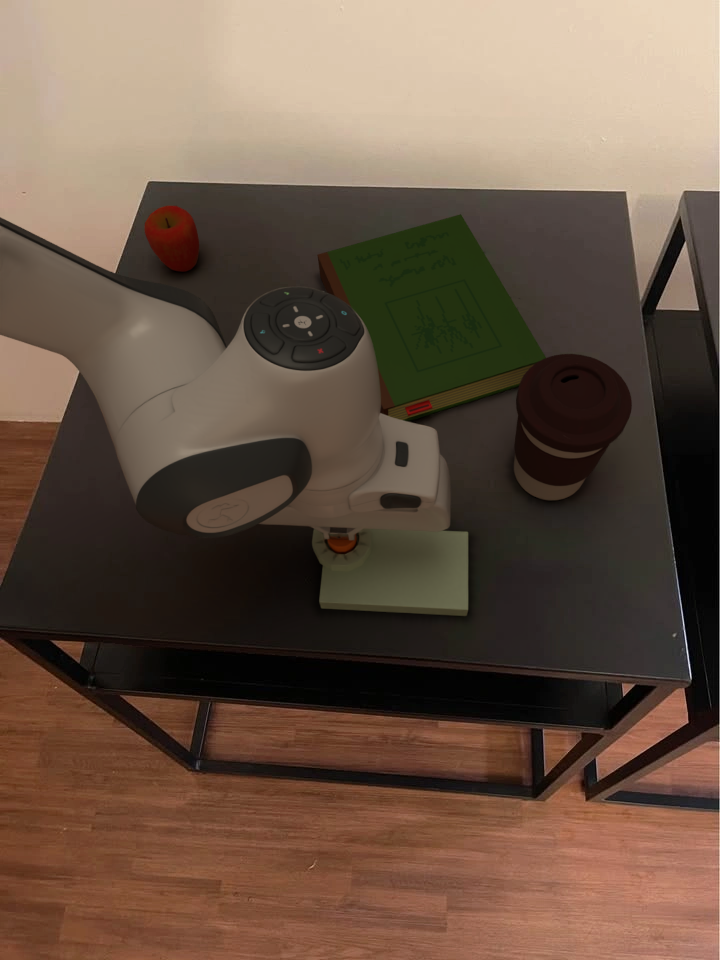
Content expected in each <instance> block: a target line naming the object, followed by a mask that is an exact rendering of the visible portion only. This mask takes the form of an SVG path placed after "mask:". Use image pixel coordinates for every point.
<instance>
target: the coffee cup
mask: <svg viewBox="0 0 720 960" xmlns="http://www.w3.org/2000/svg"><path fill="white" fill-rule="evenodd" d="M517 388H518V389H517V393H516V398H515V408H516V413H517V420H516V426H515V427H516V428H515V435H514V436H515V437H514V445H513V449H514V461H513V473H514V476H515V478H516V481H517V482H518V484H519V485H520V487H521V488H522V489H523V490H524V491H525V492H527V493H528V494H530V495H531V496H533V497H536V498H537V499H540V500H544V501H559V500H564V499H566V498H568V497H571V496H572V495H574V494H575V493H577V491H578V490H580V488H581V487H582V485H583V484H584V482H585V480H586V479H587V478H588V477H589V476H590V475H591V474H592V473H593V471H594V470H595V468H596V467H597V465H598V463H599V462H600V460H601V459H602V458H603V456H604V454H605V453H606V451H607V449H608V448H609V447H610V445H611V443H613V442H614V441H616V440H617V439H618V438H619V437H620V435H621V434H622V433H623V431H624V430H625V428H626V426H627V424H628V421H629V419H630V417H631V415H632V414H631V413H632V408H633V401H632V395H631V392H630V389H629V387H628V384H627V383H626V381H625V380H624V378H623V377H622V376H621V375H620V374H619V373H618V371H616V370H615V369H614V368H612V366H610V365H608V364H607V363H605V362H603V361H602V360H599V359H597V358H595V357H592V356H588V355H583V354H576V353H560V354H554V355H550V356H548V357H546V358H545V359H543V360H541V361H539V362H537V363H536V364H534V365H533V366H532V367H531V368H530V369H528V371H527V372H526V373H525V374H524V376H523V377H522V379H521V382H520V384H519V387H517Z"/></svg>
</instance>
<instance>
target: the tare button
mask: <svg viewBox="0 0 720 960" xmlns="http://www.w3.org/2000/svg"><path fill="white" fill-rule="evenodd" d="M327 540H328V544H329V547H330V548H331V550H332V551H334V552H336V553H338V554H345V553H348V552H350V551H352V550H353V549H354V547H355V546H356V543H357V537H356V534H355V540H335V539H327Z"/></svg>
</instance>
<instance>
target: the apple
mask: <svg viewBox="0 0 720 960" xmlns="http://www.w3.org/2000/svg"><path fill="white" fill-rule="evenodd" d="M143 228H144V229H143V231H144V235H145V237H146V240H147V243H148V244H149V246H150V248H151V250H152V252H153V253H154V254H155V256H157V258H158V259H159V260H160V262H161V263H163V265H165V266H166V267H167V268H169V269H170V270H172V271H176V272H183V273H184V272H185V273H186V272H188V271H191V270H192V269H193V268H194V267H195V266H196V265H197V262H198V258H199V255H200V254H199V253H200V238H199V233H198V229H197V225H196V223H195V220H194V217H193V216H192V215H191V213H190V212H188V210H186V209H184V208H182V207H180V206H178V205H164V206H161V207H158V208H157V209H155V210H154V211H153V212H151V213H150V214H149V216H148V217H147V219H146V220H145V222H144V227H143Z"/></svg>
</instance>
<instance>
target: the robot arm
mask: <svg viewBox="0 0 720 960" xmlns="http://www.w3.org/2000/svg"><path fill="white" fill-rule="evenodd" d="M0 336H2V337H5V338H9V339H12V340H14V341H18V342H20V343H24V344H27V345H30V346H33V347H35V348H39V349H42V350H46V351H48V352H52V353H54V354H58V355H60V356H63V357H64V358H65V359H67V360H68V361H69V362H70V363H71V364H72V365H73V366H74V367H75V368H76V369H77V371H78V372H79V373H80V375H81V376H82V377H83V379H84V380H85V381H86V383H87V385H88V387H89V389H90V391H91V392H92V394H93V395H94V398H95V400H96V403H97V405H98V407H99V409H100V412H101V415H102V418H103V420H104V423H105V425H106V428H107V431H108V434H109V436H110V439H111V441H112V442H111V443H112V445H113V448H114V452H115V454H116V458H117V461H118V463H119V466H120V469H121V472H122V474H123V477H124V479H125V481H126V484H127V486H128V490H129V493H130V495H131V498H132V499H133V502H134V504H135V507H136V511H137V513H138V515H139V516H140V517H141V518H142V520H144V521H145V522H146V523H148V524H150V525H152V526H154V527H156V528H157V529H160V530H162V531H166V532H167V533H171V534H175V535H180V536H187V537H195V538H205V539H206V538H210V539H214V538H222V537H228V536H230V535H235V534H237V533H239V532H243V531H245V530H248V529H250V528H253V527H254V526H257V525H270V526H271V525H272V526H273V525H274V526H293V527H294V526H297V527H309V528H312V529H313V530H314V529H316V530H317V531H319V532H321V533H323V535H324V539H335V540H355V534H356V533H357V532H359V531H361V530H362V529H386V530H408V531H430V532H439V531H446V530H448V529H449V528H450V526H451V516H452V515H451V513H452V512H451V511H452V510H451V509H452V490H451V489H452V487H451V484H452V483H451V475H450V470H449V465H448V462H447V460H446V459H445V457H444V456H443V455H442V453H441V451H440V450H441V449H440V440H439V434H438V430H437V429H436V428H433V427H432V426H428V425H424V424H421V423H415V422H412V421H403V420H400V419H396V418H393V417H390V416H387V415H384V414H382V413H380V409H381V393H380V382H379V373H378V367H377V361H376V356H375V351H374V347H373V343H372V340H371V337H370V334H369V332H368V330H367V327H366V326H365V324H364V322H363V321H362V319H361V318H360V317H359V315H358V314H357V313H356V312H355V311H354V310H353V309H352V308H351V307H350V306H349V305H348V304H347V303H345V302H344V301H343V300H341V299H339V298H338V297H336V296H334V295H332V294H329V293H327V291H325V290H322V289H318V288H314V287H308V286H285V287H279V288H276V289H272V290H270V291H267V292H266V293H264V294H262V295H260V296H259V297H257V298H256V299H254V300H253V302H251V304H250V305H249V306H248V307H247V308H246V310H245V312H244V314H243V315H242V318H241V321H240V324H239V326H238V329H237V331H236V333H235V335H234V337H233V338H232V340H231V341H230V342H229V344H228V345H227V344H226V342H225V339H224V337H223V334H222V331H221V329H220V326H219V324H218V321H217V318H216V316H215V314H214V313H213V311H212V309H211V308H210V307H209V306H208V304H207V303H206V302H205V301H204V300H202V299H201V298H199V296H197V295H196V294H194V293H191V292H189V291H187V290H185V289H183V288H179V287H177V286H172V285H169V284H164V283H159V282H153V281H149V280H143V279H137V278H132V277H128V276H126V275H123V274H118V273H115V272H113V271H110V270H108V269H106V268H103V267H102V266H100V265H97V264H95V263H93V262H91V261H89V260H87V259H85V258H83V257H81V256H79V255H77V254H76V253H73V252H71V251H69V250H68V249H66V248H63V247H61V246H59V245H58V244H55V243H53V242H51V241H49V240H48V239H46V238H43V237H41V236H40V235H37V234H35V233H33V232H31V231H29V230H27V229H25V228H24V227H22V226H20V225H17V224H15V223H14V222H12V221H9V220H7V219H5V218H3V217H1V216H0Z"/></svg>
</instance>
